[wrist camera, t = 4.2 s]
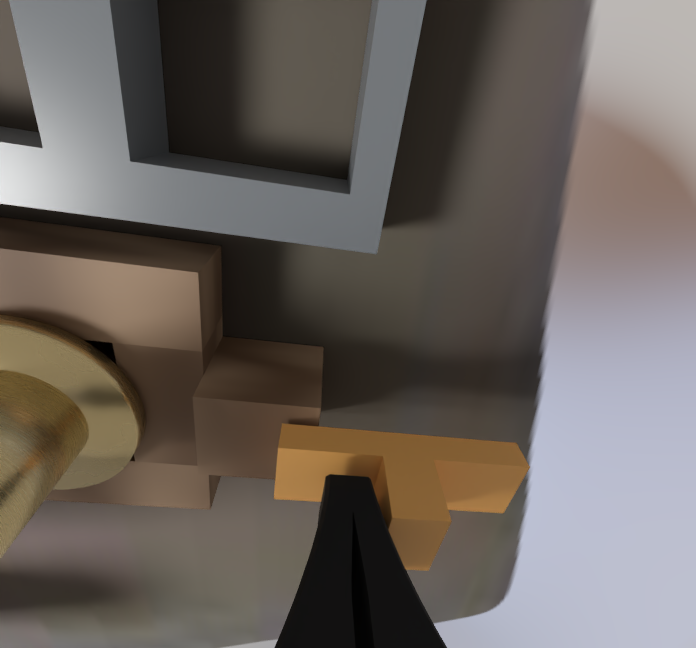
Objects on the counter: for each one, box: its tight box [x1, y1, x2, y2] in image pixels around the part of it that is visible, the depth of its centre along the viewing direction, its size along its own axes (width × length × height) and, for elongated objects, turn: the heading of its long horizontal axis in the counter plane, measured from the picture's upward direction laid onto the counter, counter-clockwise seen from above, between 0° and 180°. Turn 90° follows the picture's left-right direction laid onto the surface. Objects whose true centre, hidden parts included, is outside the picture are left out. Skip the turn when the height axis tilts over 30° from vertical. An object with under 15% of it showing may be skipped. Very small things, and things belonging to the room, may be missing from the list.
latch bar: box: [274, 423, 530, 570], centre depth 12 cm, size 8×2×3 cm, turn 81°
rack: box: [0, 0, 426, 254], centre depth 9 cm, size 15×8×2 cm, turn 81°
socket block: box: [0, 217, 324, 510], centre depth 13 cm, size 15×11×4 cm
